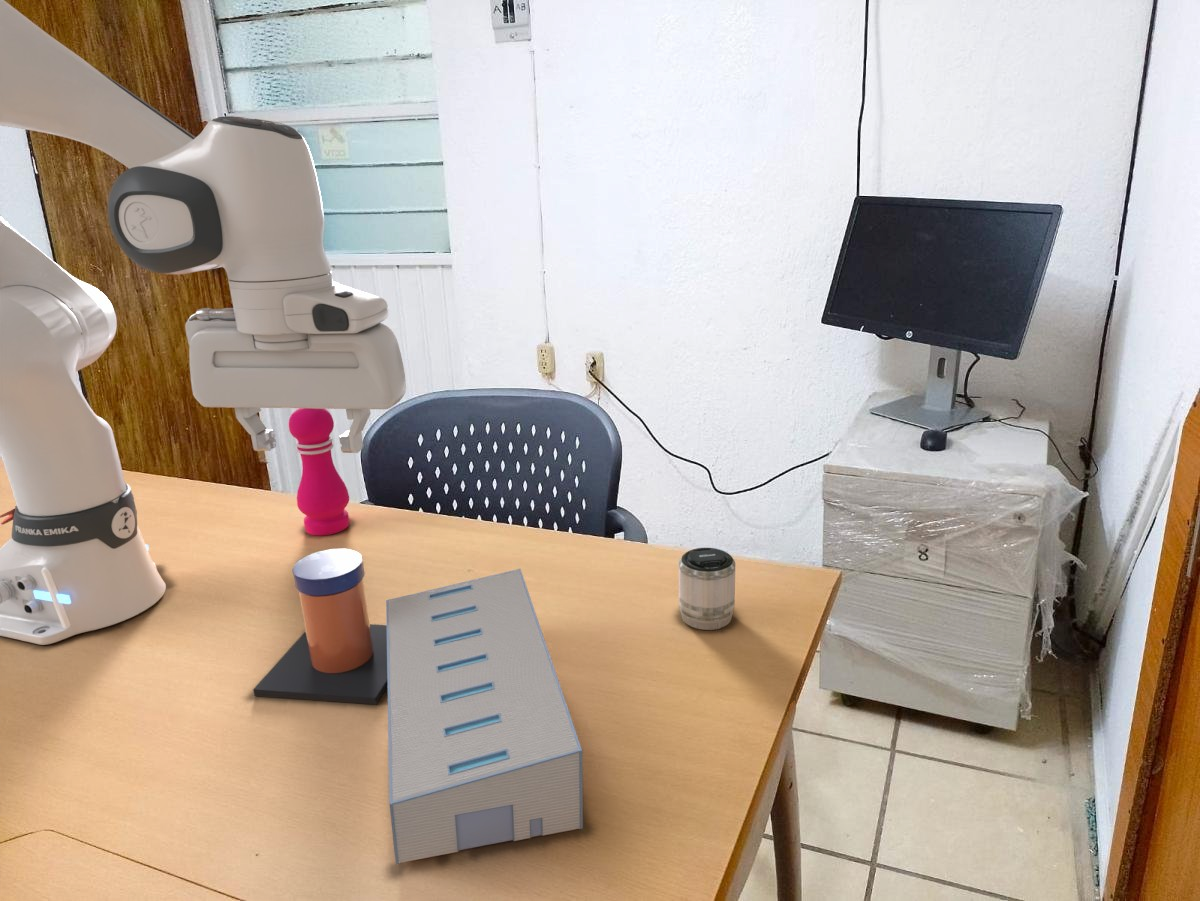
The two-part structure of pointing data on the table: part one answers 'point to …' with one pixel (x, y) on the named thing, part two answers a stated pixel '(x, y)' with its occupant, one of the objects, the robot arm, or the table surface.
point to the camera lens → (706, 588)
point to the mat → (328, 676)
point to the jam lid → (328, 572)
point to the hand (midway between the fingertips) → (308, 450)
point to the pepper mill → (318, 473)
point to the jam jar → (337, 629)
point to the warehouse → (476, 722)
